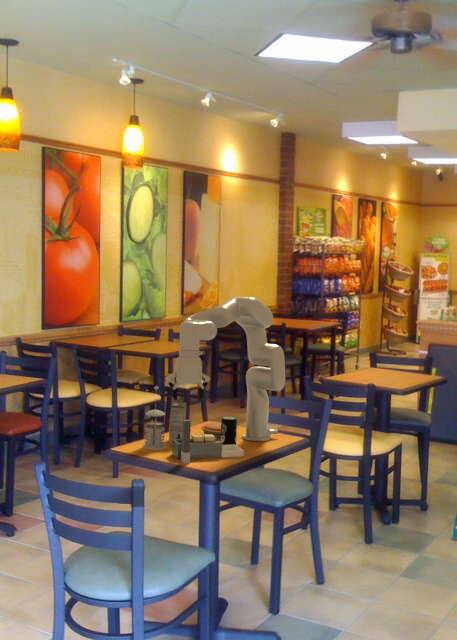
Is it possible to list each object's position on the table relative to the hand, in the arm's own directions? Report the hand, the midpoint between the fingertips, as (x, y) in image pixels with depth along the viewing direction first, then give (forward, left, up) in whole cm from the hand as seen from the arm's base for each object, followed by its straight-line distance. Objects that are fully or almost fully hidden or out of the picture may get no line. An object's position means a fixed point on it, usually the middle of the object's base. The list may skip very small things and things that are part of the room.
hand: (187, 399), depth 291 cm
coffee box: (-6, -33, -24) cm, 41 cm away
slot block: (-7, -8, -24) cm, 26 cm away
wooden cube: (-12, -8, -20) cm, 25 cm away
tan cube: (-7, -8, -20) cm, 23 cm away
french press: (+6, -25, -24) cm, 35 cm away
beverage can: (-25, -22, -24) cm, 41 cm away
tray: (-21, -9, -24) cm, 33 cm away
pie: (-27, -41, -24) cm, 55 cm away
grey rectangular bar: (0, 0, -24) cm, 24 cm away
